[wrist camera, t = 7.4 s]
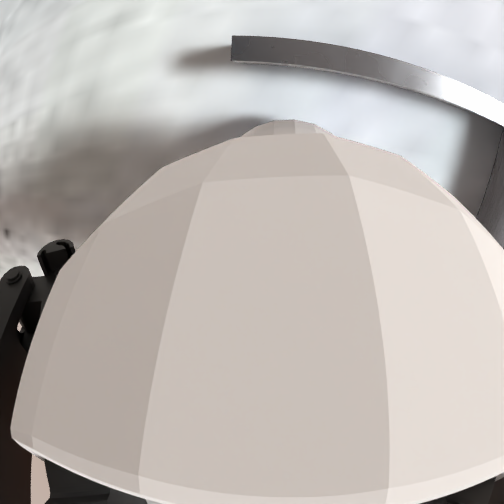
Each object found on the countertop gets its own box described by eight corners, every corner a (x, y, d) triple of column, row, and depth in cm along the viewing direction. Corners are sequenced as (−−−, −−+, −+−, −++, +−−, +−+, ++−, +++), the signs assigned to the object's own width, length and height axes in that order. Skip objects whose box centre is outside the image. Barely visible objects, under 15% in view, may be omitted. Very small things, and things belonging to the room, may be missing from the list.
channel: (234, 267, 22) (225, 305, 19) (243, 43, 13) (232, 35, 10) (455, 287, 21) (472, 319, 18) (516, 117, 12) (551, 134, 9)
